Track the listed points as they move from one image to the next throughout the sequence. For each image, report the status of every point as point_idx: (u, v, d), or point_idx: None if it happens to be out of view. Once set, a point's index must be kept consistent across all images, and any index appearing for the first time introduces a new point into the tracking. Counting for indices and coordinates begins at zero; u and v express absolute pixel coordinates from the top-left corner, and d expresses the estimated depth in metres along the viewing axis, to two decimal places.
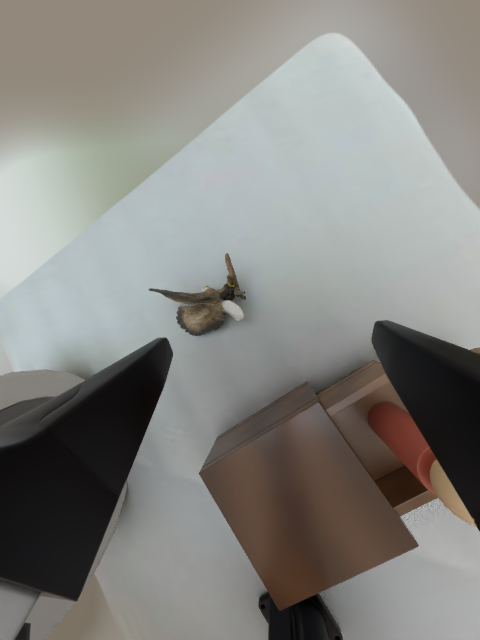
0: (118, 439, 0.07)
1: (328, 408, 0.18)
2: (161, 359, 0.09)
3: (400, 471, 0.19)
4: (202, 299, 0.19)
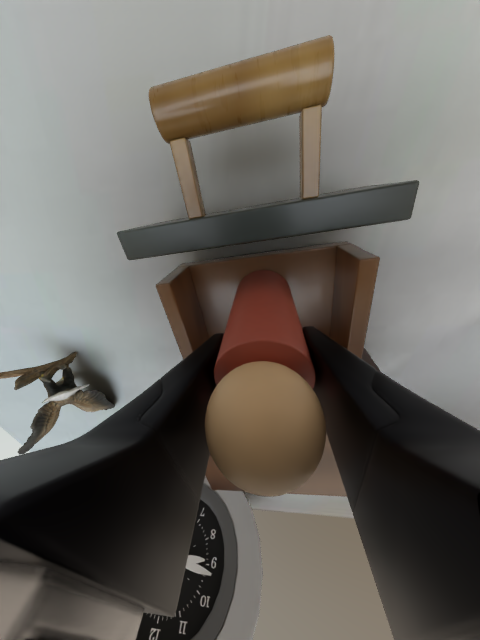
0: (198, 439, 0.06)
1: None
2: None
3: (333, 318, 0.13)
4: (36, 424, 0.17)
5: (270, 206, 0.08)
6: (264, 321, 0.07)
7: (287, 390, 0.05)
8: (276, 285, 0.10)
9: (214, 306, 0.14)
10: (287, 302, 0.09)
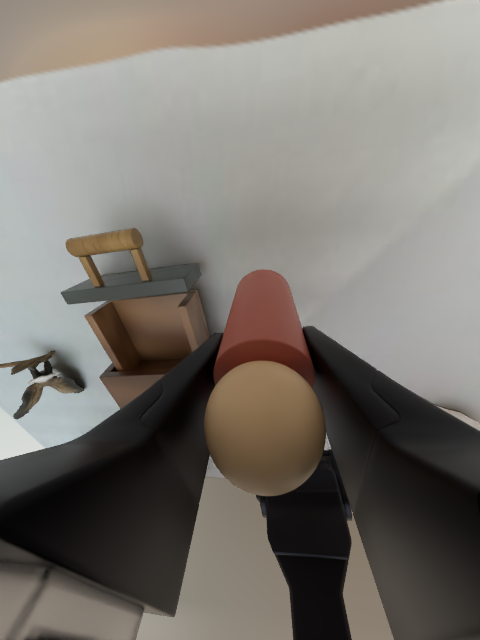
0: (198, 439, 0.06)
1: (115, 366, 0.22)
2: None
3: None
4: (25, 397, 0.26)
5: (127, 284, 0.17)
6: (264, 320, 0.07)
7: (287, 389, 0.05)
8: (275, 284, 0.10)
9: (131, 323, 0.23)
10: (287, 302, 0.09)
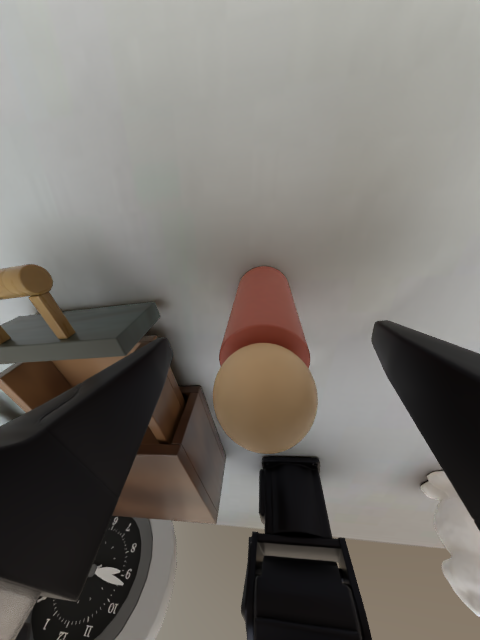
0: (118, 438, 0.07)
1: None
2: (161, 359, 0.09)
3: None
4: None
5: (35, 344, 0.11)
6: (264, 309, 0.08)
7: (284, 363, 0.05)
8: (275, 279, 0.11)
9: (73, 375, 0.17)
10: (285, 295, 0.10)
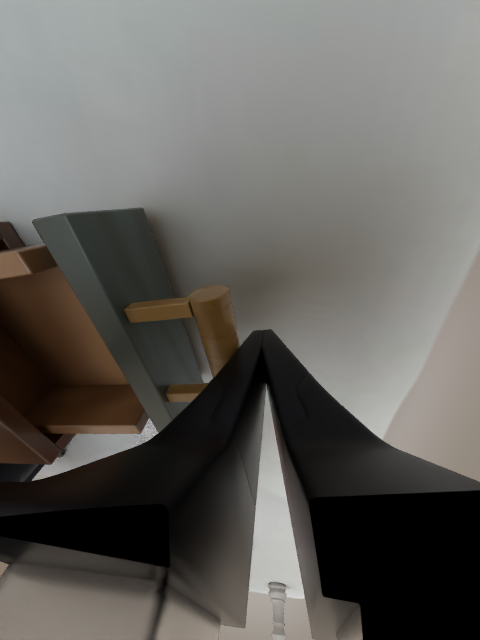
0: (254, 439, 0.06)
1: None
2: None
3: (98, 389, 0.14)
4: None
5: (152, 380, 0.09)
6: None
7: None
8: None
9: (55, 281, 0.10)
10: None
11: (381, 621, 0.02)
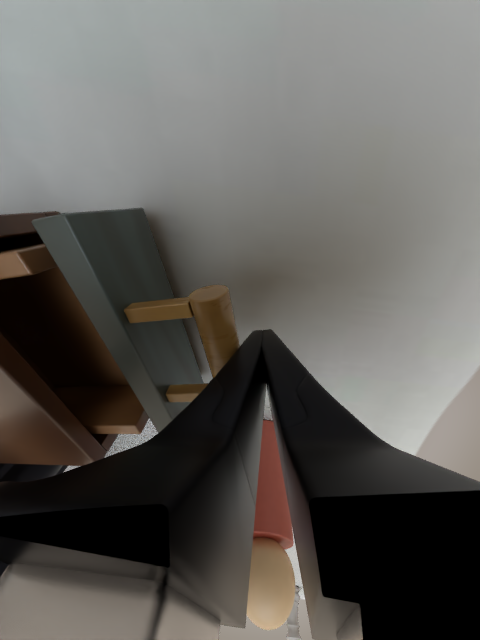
0: (254, 440, 0.06)
1: None
2: None
3: (98, 389, 0.14)
4: None
5: (152, 380, 0.09)
6: None
7: None
8: None
9: (55, 281, 0.10)
10: None
11: (381, 621, 0.02)
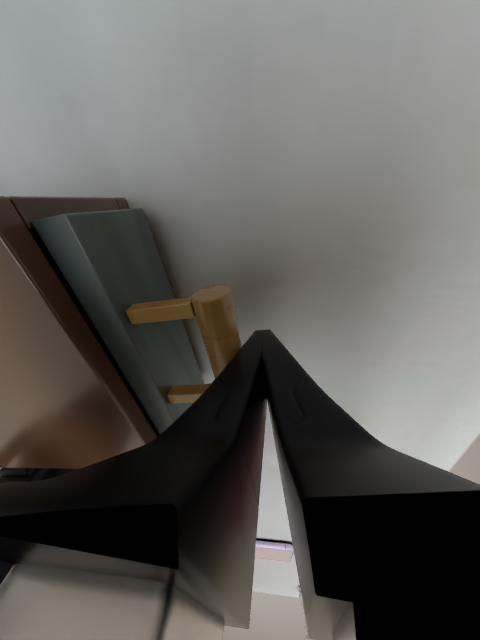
0: (257, 440, 0.06)
1: None
2: None
3: None
4: None
5: (154, 381, 0.09)
6: None
7: None
8: None
9: None
10: None
11: (375, 620, 0.02)
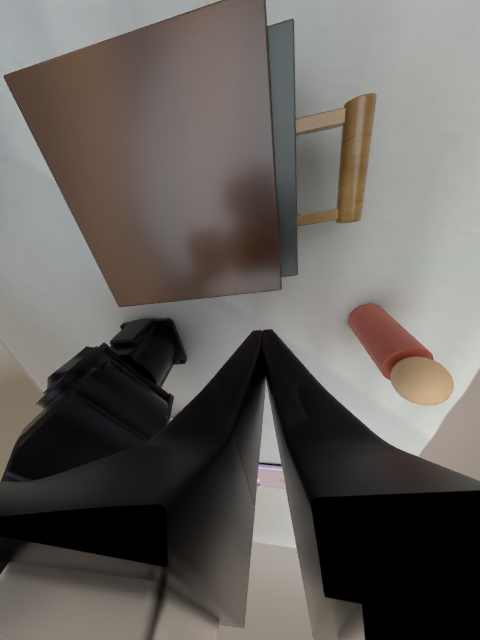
0: (253, 440, 0.06)
1: None
2: None
3: None
4: None
5: (296, 193, 0.12)
6: None
7: None
8: None
9: None
10: None
11: (383, 621, 0.02)
